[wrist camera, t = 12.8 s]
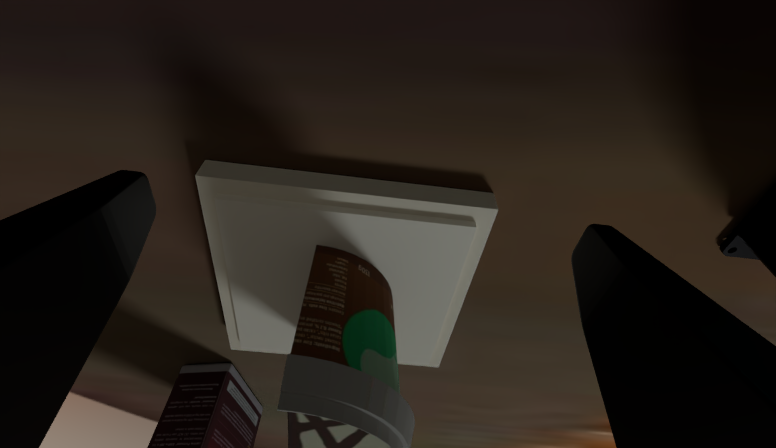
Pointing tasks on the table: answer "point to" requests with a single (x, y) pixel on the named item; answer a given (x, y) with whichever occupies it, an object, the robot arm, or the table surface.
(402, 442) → the food container
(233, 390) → the supplement box
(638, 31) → the table surface
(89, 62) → the table surface
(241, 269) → the white square tray
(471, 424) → the table surface
